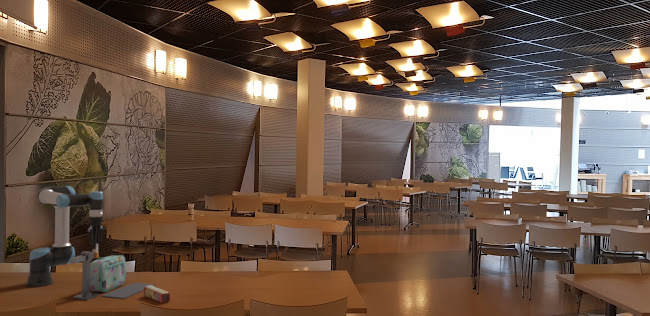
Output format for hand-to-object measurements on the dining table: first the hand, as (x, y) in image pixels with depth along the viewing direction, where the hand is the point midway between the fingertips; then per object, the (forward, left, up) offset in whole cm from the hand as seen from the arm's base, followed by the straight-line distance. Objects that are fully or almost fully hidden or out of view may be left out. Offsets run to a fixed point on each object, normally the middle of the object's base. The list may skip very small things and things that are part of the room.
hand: (95, 254), depth 298 cm
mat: (+16, +12, -25) cm, 32 cm away
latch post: (0, -8, -25) cm, 26 cm away
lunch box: (0, +12, -25) cm, 28 cm away
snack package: (+43, +2, -25) cm, 50 cm away
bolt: (0, -10, -2) cm, 10 cm away
